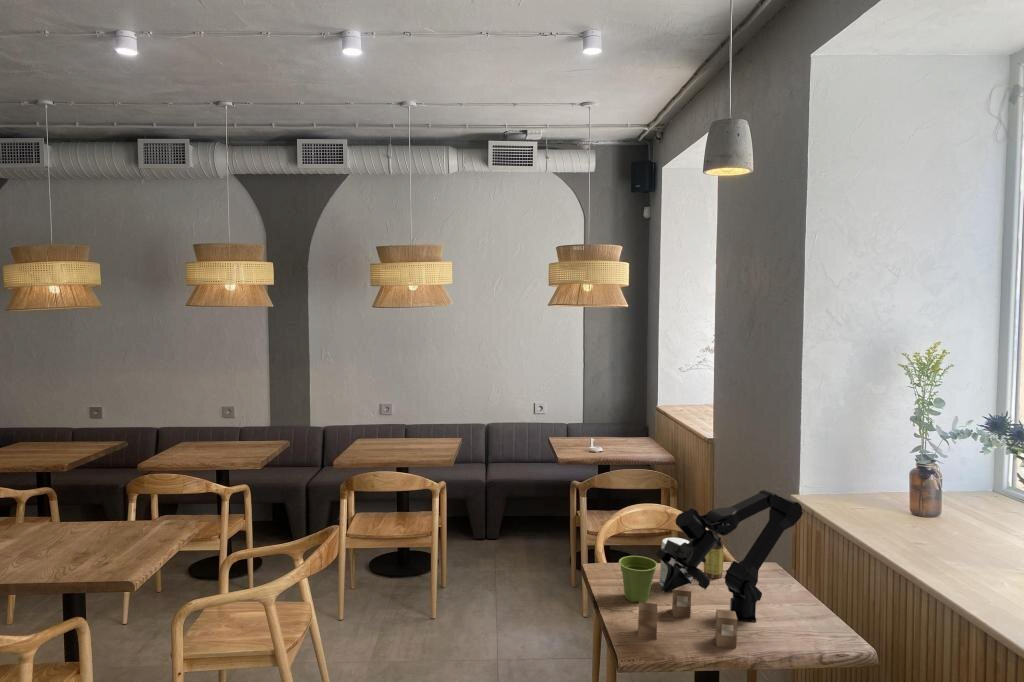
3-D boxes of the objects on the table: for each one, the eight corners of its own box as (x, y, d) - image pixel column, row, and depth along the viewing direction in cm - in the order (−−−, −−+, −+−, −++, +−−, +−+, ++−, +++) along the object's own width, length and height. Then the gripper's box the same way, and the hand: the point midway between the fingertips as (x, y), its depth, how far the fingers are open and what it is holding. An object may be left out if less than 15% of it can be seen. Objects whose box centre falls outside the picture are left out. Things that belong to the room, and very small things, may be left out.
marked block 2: (733, 639, 199) (735, 611, 199) (736, 648, 194) (737, 619, 193) (715, 637, 200) (716, 609, 199) (717, 646, 195) (718, 617, 194)
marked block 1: (689, 610, 217) (690, 584, 216) (690, 618, 212) (691, 591, 211) (672, 609, 218) (673, 583, 217) (672, 616, 212) (673, 590, 212)
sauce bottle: (708, 570, 249) (710, 513, 247) (725, 575, 245) (728, 517, 243) (699, 576, 243) (702, 518, 242) (717, 581, 240) (720, 522, 238)
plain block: (656, 631, 203) (657, 603, 202) (656, 640, 198) (657, 611, 197) (638, 629, 204) (638, 602, 203) (637, 638, 199) (638, 609, 198)
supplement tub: (668, 593, 229) (669, 548, 228) (654, 582, 238) (656, 538, 237) (695, 590, 231) (697, 545, 230) (681, 579, 240) (682, 536, 239)
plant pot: (612, 601, 222) (613, 565, 222) (625, 587, 233) (626, 553, 232) (649, 609, 217) (651, 572, 216) (661, 595, 227) (662, 560, 227)
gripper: (662, 520, 211) (628, 562, 208) (703, 541, 194) (666, 586, 191) (684, 544, 215) (650, 585, 211) (725, 566, 198) (690, 611, 194)
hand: (663, 591), depth 202 cm, fingers closed
